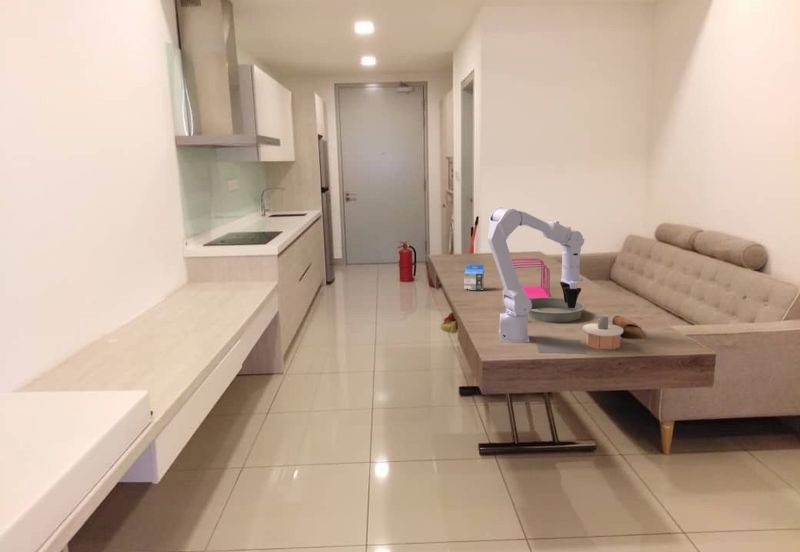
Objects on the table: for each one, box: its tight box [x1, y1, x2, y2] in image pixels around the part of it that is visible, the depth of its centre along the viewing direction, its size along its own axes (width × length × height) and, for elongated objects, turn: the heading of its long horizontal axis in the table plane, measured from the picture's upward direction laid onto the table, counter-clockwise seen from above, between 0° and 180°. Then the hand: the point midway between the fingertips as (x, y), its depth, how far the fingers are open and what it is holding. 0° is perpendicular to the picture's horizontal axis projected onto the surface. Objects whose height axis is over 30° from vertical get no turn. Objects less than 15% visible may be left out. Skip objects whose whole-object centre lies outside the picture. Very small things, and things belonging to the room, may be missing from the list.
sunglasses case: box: [611, 315, 646, 340], centre depth 191 cm, size 18×7×7 cm
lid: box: [582, 315, 623, 336], centre depth 175 cm, size 12×12×4 cm
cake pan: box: [528, 296, 587, 323], centre depth 215 cm, size 25×25×4 cm
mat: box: [534, 338, 587, 355], centre depth 176 cm, size 14×14×1 cm
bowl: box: [585, 332, 621, 350], centre depth 176 cm, size 10×10×5 cm
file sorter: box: [512, 257, 551, 299], centre depth 249 cm, size 17×25×16 cm
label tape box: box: [463, 263, 485, 291], centre depth 263 cm, size 9×4×12 cm, turn 71°
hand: (569, 305), depth 189 cm, fingers open, 7 cm apart
